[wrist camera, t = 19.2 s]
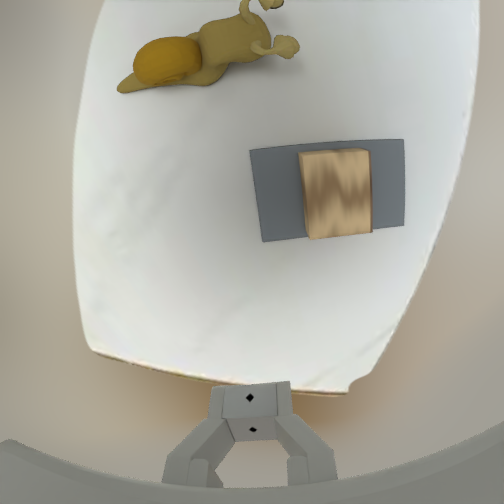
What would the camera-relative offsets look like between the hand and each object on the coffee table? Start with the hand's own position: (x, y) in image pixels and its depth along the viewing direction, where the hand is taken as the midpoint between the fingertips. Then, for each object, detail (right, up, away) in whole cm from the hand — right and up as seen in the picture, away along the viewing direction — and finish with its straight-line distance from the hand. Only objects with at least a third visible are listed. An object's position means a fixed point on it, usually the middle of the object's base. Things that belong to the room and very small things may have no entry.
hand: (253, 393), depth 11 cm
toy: (-7, +28, +19) cm, 35 cm away
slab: (+6, +12, +24) cm, 28 cm away
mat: (+10, +14, +26) cm, 31 cm away
